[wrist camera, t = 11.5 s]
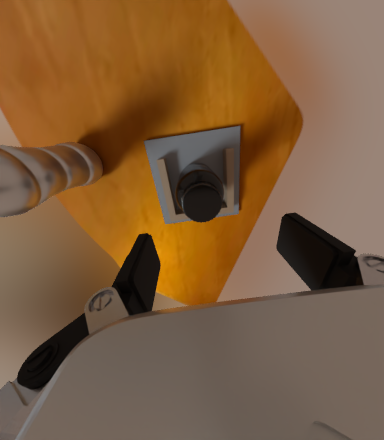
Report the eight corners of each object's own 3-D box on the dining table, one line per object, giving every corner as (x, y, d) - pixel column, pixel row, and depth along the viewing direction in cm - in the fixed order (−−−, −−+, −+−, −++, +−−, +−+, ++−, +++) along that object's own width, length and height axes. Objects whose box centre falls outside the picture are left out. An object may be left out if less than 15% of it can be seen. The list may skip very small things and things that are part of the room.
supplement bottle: (208, 156, 25) (225, 164, 14) (218, 191, 28) (237, 220, 18) (172, 169, 26) (163, 187, 15) (185, 203, 29) (185, 236, 18)
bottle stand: (145, 141, 24) (139, 140, 21) (238, 126, 24) (246, 123, 21) (165, 221, 32) (163, 230, 29) (237, 211, 31) (242, 219, 28)
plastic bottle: (81, 132, 23) (-234, 97, 6) (115, 166, 26) (-30, 211, 8) (60, 159, 25) (-231, 194, 8) (94, 188, 28) (-63, 265, 10)
